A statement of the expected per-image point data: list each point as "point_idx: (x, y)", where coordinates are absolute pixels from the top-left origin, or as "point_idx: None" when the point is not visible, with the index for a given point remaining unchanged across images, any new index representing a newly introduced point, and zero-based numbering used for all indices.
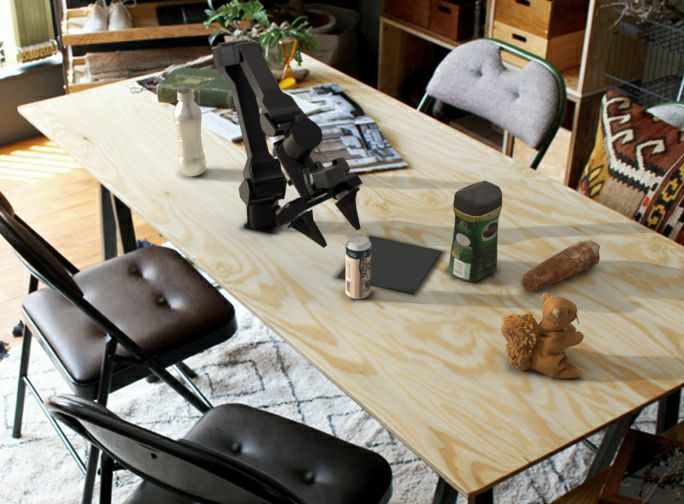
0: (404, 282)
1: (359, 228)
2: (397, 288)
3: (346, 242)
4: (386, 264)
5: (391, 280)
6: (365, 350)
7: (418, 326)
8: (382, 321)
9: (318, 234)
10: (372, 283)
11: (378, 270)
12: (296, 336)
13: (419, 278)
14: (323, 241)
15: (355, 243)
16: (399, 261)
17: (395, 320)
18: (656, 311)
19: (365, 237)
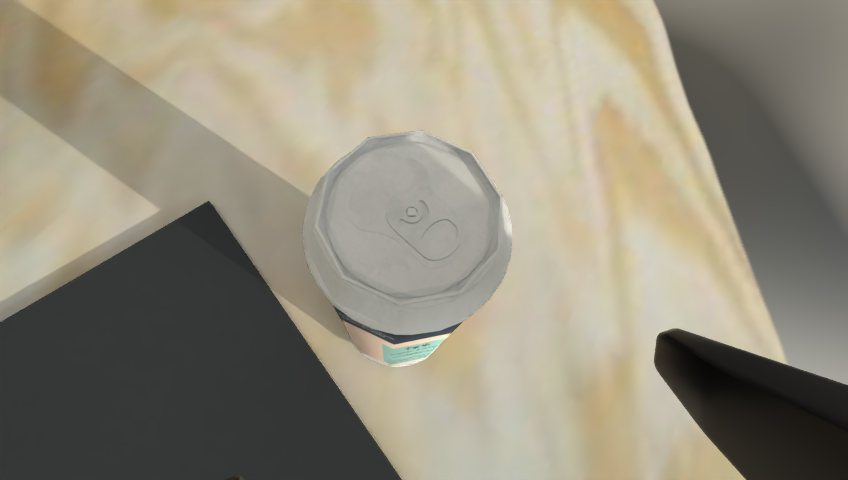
0: (178, 284)
1: (236, 477)
2: (236, 260)
3: (488, 296)
4: (127, 474)
5: (213, 327)
6: (536, 42)
7: (329, 54)
8: (414, 126)
9: (821, 378)
10: (300, 348)
11: (202, 440)
12: (707, 192)
13: (99, 279)
14: (716, 344)
15: (463, 183)
16: (48, 469)
17: (373, 110)
18: None
19: (330, 224)
